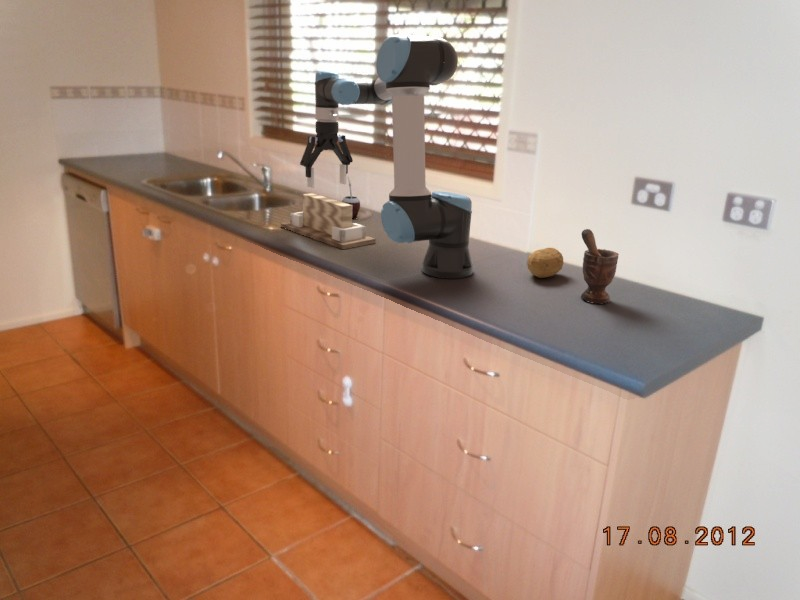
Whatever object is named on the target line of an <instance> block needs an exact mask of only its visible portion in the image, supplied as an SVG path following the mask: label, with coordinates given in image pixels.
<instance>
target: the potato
mask: <svg viewBox="0 0 800 600" xmlns="http://www.w3.org/2000/svg"><path fill="white" fill-rule="evenodd" d="M526 266H527V270H529V272H530V273H531V275H533V276H535V277H536V278H539V279H544V278H549V277H552V276H555V275H556V274H557V273H558V272H560V271H561V270H562V269H563V267H564V256H563V254H562V252H560V251H559V250H558V249H556V248H555V247H545V248H541V249H537V250H535V251H533V252H531V253H530V254H529V256H528V257H527V261H526Z"/></svg>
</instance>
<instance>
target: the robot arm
mask: <svg viewBox="0 0 800 600" xmlns="http://www.w3.org/2000/svg"><path fill="white" fill-rule="evenodd" d="M457 54H458V53H457V52H456V50H455V48H454V46H453V45H452V44H451V43H450V42H449V41H448V40H446V39H444V38H442V37H435V36H425V35H416V34H415V35H414V34H392V35H390V36H388V37H387V38H385V39H384V41H383V42H382V43H381V45H380V47H379V49H378V52H377V55H376V62H375V63H376V64H375V68H376V69H375V70H376V74H377V75H378V76H377V77H376V78H373V79H364V78H363V79H358V78H357V79H356V78H354V79H353V78H340V77H339V73H338V72H336V71H323V70H322V71H321V70H319V71H317V72H316V73H315V81H314V86H315V87H314V88H315V89H314V92H315V93H314V94H315V95H314V96H315V107H314V108H315V109H314V110H315V111H314V112H315V114H314V116H315V117H314V118H315V120H317V121H315V133H316V136H308V137H307V144H306V147H305V149H304V152H303V155H302V156H301V157H302V158H301V160H300V163H299V165H300V166H302V167H304V169H305V177H306V179H307V180H306V182H307V183H306V184H307V186H306V187H308V188H311V189H313V188H315V167H313V166H314V164H315V163H316V162H317V159H318V157H319V156H320V155H321V153H322V152H324V151H329V150H330V151H333V153H334V154H335V155H336V157H337V158H338V160H339V161H340V164H339V184H342V185H347V174H348V171H349V168H348V167H349V165H351V163H353V156H352V154H351V153H350V150H349V147H348V144H347V140H346V135H343V134H339V122H338V120H339V104H340V105H341V106H345V105H347V106H348V105H365V104H366V105H381V106H382V105H389V104H391V105H392V106H391V111H392V116H391V117H392V147H393V148H392V149H393V151H392V152H393V153H392V154H393V155H392V156H393V181H394V182H393V185H394V187H393V188H392V190H391V191H390V192H389V193H388V201H386V202H385V203H384V204H383V205H382V208H381V209H380V210H381V211H380V220H381V225H382V228H383V230H384V232H385V234H386V236H387V238H389V239H390V240H391V241H392V242H393V243H396V244H397V243H398V244H404V243H405V244H412V243H414V242H415V243H416V242H425V241H428V247H427V249H426V252H425V253H424V255H423V256H424V257H423V259H422V262H421V272H422V273H423V274H426V275H428V276H431V277H435V278H440V279H463V278H467V277H469V276H472V275H473V270H474V263H473V259H472V257H471V252H470V249H469V248H470V235H471V234H470V233H471V232H470V231H471V221H472V214H473V211H472V200H471V198H470V197H468V196H466V195H464V194H459V193H455V192H454V193H453V192H450V191H449V192H448V191H440V190H439V191H438V190H437V191H436V190H435V191H433V192H431V191H430V190H429V189H428V188H427V186H426V184H427V183H426V142H425V141H426V137H425V136H426V134H425V133H426V131H425V123H426V122H425V96H426V94H427V93H428V92H429V91H430V89H431V86H437V85H440V84H442V83H445V82H446V81H449V80H450V79H452V77H453V76H454V75H455V73H456V71H457V68H458V61H459V60H458V59H459V58H458V55H457ZM338 134H339V135H338ZM315 144H316V145H315Z"/></svg>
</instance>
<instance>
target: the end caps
mask: <svg viewBox="0 0 800 600" xmlns="http://www.w3.org/2000/svg"><path fill="white" fill-rule="evenodd" d="M289 222H290V224H291V225H294V226H297V227H303V211H297V212H290V213H289ZM366 228H367V227H366V225H364V224H360V223H356V222H355V223H354V222H352V227H350V228H344V229H342V228H339V227H336V226H335V227H332V239H334V240H337V241H340V242H346V241H351V240H357V239H362V238H365V237H366V236H367V235H366V234H367V233H366V232H367V231H366V230H367V229H366Z"/></svg>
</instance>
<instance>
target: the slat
mask: <svg viewBox="0 0 800 600" xmlns="http://www.w3.org/2000/svg"><path fill="white" fill-rule="evenodd" d="M352 209H353V205H350V204H346V203H343V202H342V201H339V200H337V199H332V198H329V197H326V196H323V195H319V194H316V193H313V192H312V193H311V192H309V193H304V194H302V212H303V225H305V226H308V227H311V228H313V229H316V230H319V231H322V232H324V233H327V234H330V235H332V227H335V226H336V227H339V228H342V229H344V228H350V227H352V224H353V219H352Z"/></svg>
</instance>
